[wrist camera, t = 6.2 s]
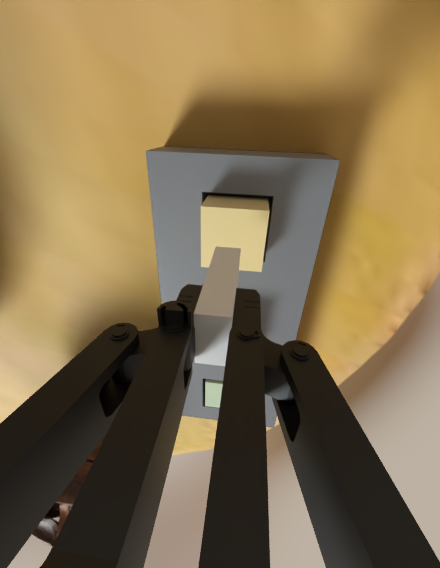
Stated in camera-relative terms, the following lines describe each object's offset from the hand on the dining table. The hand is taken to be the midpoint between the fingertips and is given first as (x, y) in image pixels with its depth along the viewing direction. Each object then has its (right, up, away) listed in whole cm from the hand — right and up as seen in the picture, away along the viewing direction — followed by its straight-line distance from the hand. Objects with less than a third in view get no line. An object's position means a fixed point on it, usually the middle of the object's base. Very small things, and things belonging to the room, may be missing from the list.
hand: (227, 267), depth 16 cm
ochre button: (+1, +4, +6) cm, 7 cm away
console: (+1, -3, +15) cm, 16 cm away
